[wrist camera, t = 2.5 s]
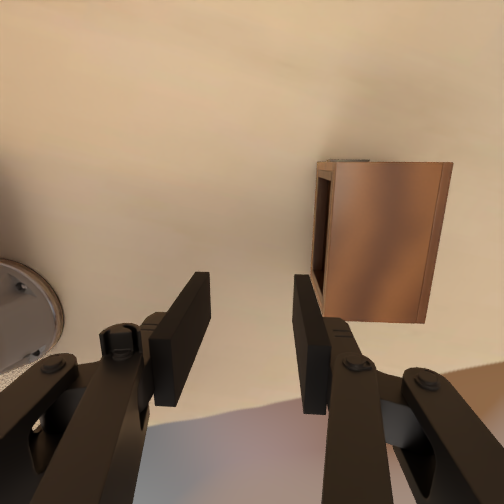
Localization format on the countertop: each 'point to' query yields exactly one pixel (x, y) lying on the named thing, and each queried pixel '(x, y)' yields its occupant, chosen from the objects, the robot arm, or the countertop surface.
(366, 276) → the wooden storage crate
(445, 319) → the countertop surface
